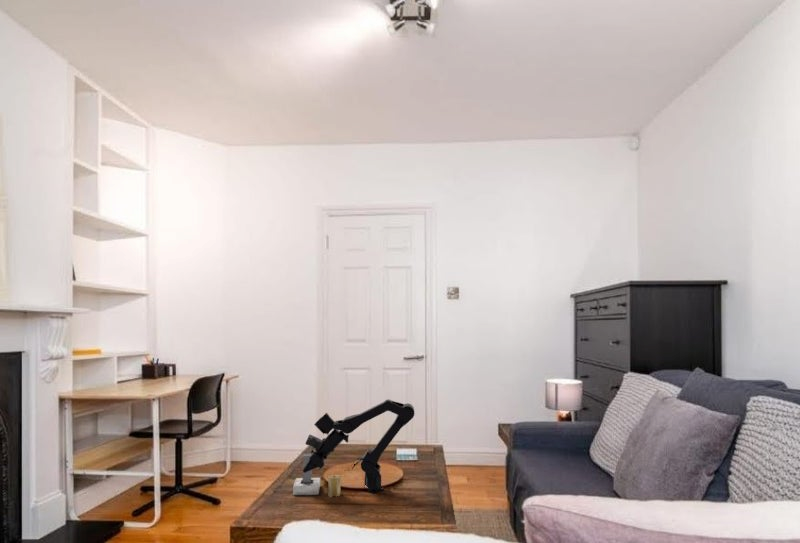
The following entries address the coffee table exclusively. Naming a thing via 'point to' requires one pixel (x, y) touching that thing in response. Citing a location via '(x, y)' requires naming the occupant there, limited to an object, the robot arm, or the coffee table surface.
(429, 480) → the coffee table surface
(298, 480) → the bore block
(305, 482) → the square bit
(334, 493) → the cross bit
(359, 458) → the tactical tomahawk
